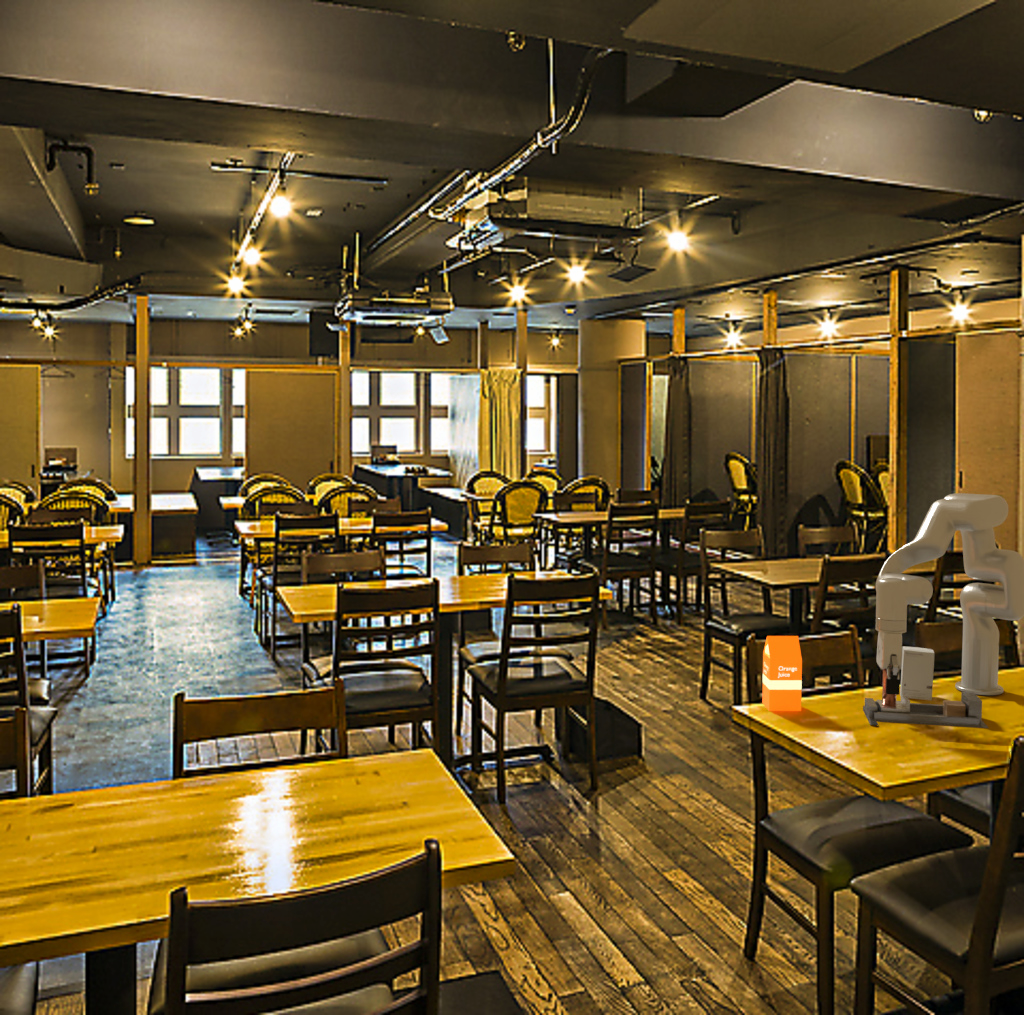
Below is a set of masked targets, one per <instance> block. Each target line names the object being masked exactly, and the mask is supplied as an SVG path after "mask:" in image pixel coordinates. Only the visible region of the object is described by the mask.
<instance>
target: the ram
mask: <svg viewBox="0 0 1024 1015" xmlns="http://www.w3.org/2000/svg"><path fill="white" fill-rule="evenodd" d="M890 672H891V671H890ZM886 678H887V669H884V670H883V685H882V696H881V697H882V699H876V701H877V710H878V712H887V713H904V714H910V703H911V701H910V698H907V696H906V695H905V694H901V695H900V700H897V695H893V694H886Z"/></svg>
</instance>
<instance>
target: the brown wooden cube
mask: <svg viewBox="0 0 1024 1015" xmlns="http://www.w3.org/2000/svg"><path fill="white" fill-rule="evenodd" d="M942 705H943V716H957V717H965V710H966V706H965V705H964V704H963V703H962V701H961V700H960V701H959V700H948V699H947V700H942Z"/></svg>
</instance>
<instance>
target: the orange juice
mask: <svg viewBox="0 0 1024 1015" xmlns="http://www.w3.org/2000/svg"><path fill="white" fill-rule="evenodd" d="M799 639H800V638H799V635H767V636H766V639H765V643H764V648H763V651H762V700H761V701H762V702H761V703H762V704H763V706H764V707H765V709H767V710H768V712H802V688H803V686H802V684H803V681H802V680H803V678H802V676H803V675H802V674H803V673H802V672H803V657H802V651H801V646H800V640H799Z"/></svg>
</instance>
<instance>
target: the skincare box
mask: <svg viewBox="0 0 1024 1015" xmlns="http://www.w3.org/2000/svg"><path fill="white" fill-rule="evenodd" d="M934 669H935V651H934V649H932V648H926V647H925V648H924V647H918V646H903V645H902V665H901V669H900V670H901V673H900V688H899V696H901V694H905V695H906V696H907V698H908V699H913V700H914V699H915V700H923V701H924V700H925V701H932V699H933V686H934V685H933V684H934Z"/></svg>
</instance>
